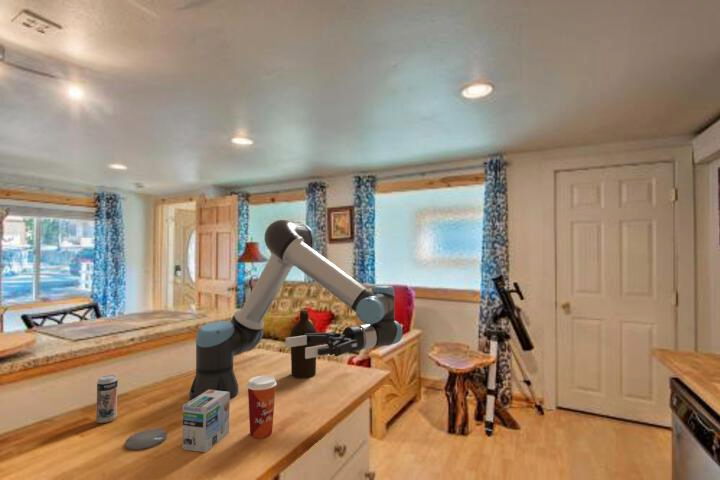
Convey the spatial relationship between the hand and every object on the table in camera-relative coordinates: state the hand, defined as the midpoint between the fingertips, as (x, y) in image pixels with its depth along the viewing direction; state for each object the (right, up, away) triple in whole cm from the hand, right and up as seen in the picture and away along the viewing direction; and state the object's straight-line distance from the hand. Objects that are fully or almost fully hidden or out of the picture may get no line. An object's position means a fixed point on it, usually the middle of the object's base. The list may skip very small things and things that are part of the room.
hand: (295, 347), depth 102 cm
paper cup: (-8, -21, -6) cm, 23 cm away
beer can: (-54, -21, +1) cm, 58 cm away
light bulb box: (-21, -21, -10) cm, 31 cm away
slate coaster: (-36, -21, -10) cm, 43 cm away
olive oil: (-4, -23, +41) cm, 47 cm away
